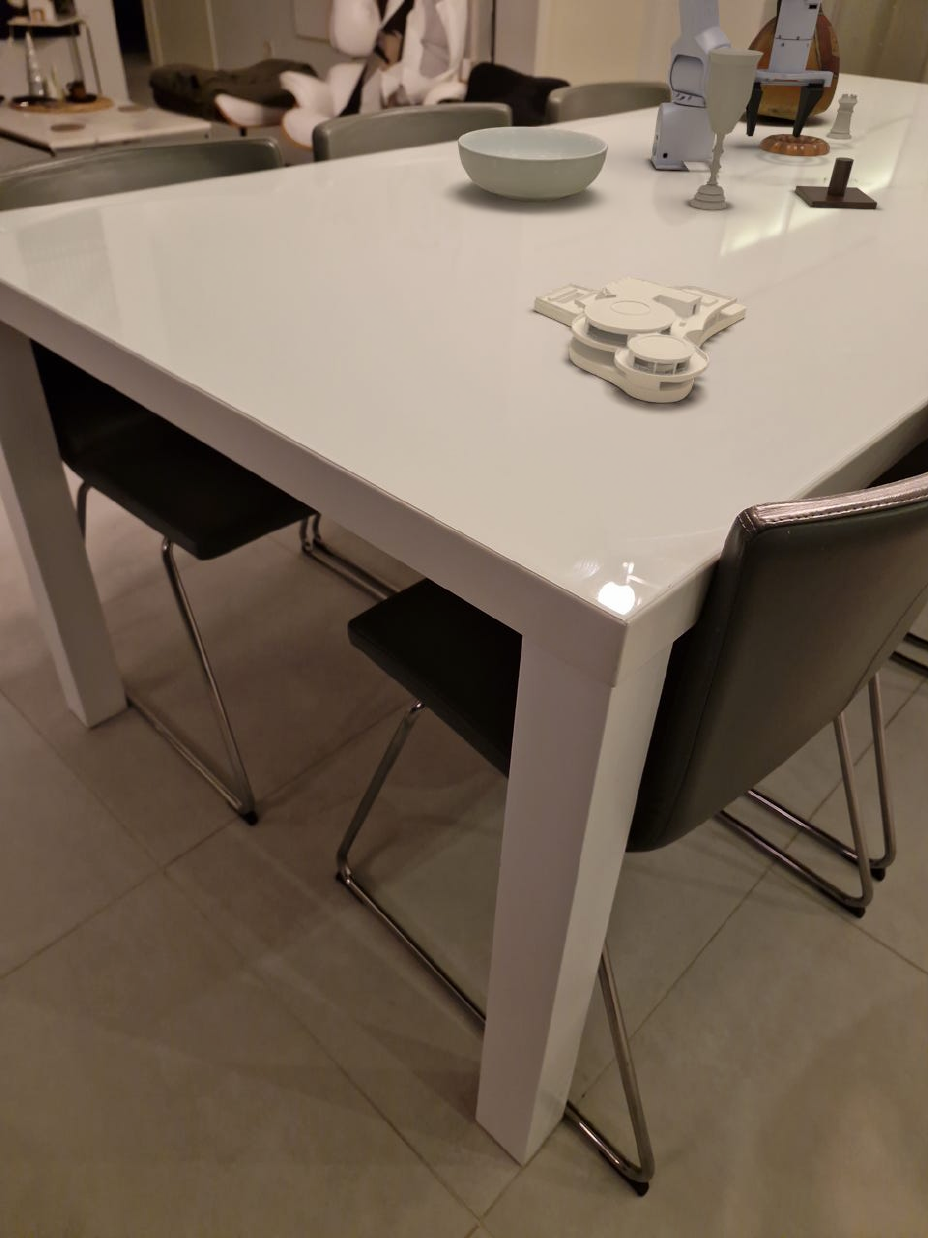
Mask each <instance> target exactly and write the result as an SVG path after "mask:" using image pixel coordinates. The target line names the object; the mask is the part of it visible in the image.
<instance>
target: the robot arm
mask: <svg viewBox="0 0 928 1238" xmlns="http://www.w3.org/2000/svg"><path fill="white" fill-rule="evenodd" d="M823 2H824V0H782V4H781V9H780V14H779V19H778V24H777V29H776V34H775V38H774V43H773V49H772V53H771V58H770V63H769V68H768V69H756V74H755V79H754V84H753V89H752V94H751V98H750V100H749V102H748V104H747V107H746V109H745V113H746V131H745V132H746V133H745V134H746V136H747V137H749V138H750V137H751V138H752V137H754V134H755V129H756V123H757V117H758V114H757V113H758V109H759V105H760V101H761V98H762V95H763V91H762V90H761V88H762V87H760V85H793V86H802V87H801V92H800V100H799V106H798V112H797V116H796V120H794V123H793V127H792V133H791V134H792V136H794V137H795V138H799V137H800V135H802V131H803V130H804V127H805V125H806V123H807V121H808V119H809V118H810V117H809V115H810V113H811V112H812V110H813V109H814V107H815V106H816V104H817V103H818V101H819V100H820V99H821V97H822V96H823V94H824V90H825V89H823V87H830V86H831V81H832V77H833V73H832V72H829V71H810V70H805V69H806V65H807V60H808V56H809V52H810V47H811V43H812V38H813V34H814V29H815V25H816V21H817V16H818V12H819V7H820V3H821V4H822V3H823ZM678 5H679V6H678V9H679V24H680V36H679V37H678V38H677V39H676V40H675V42H674V43H673V44H672V45H671V47H670V64H669V68H668V72H667V83H668V84H667V85H668V87H669V89H670V91H671V92H672V96H671V100H672V102H661V103H660V104H659V106H658V111H657V116H656V122H655V130H654V136H653V143H652V150H651V151H652V152H651V155H650V161H651V162H652V164H653V165H654V167H655V169H656V170H671V171H672V170H674V171H689V170H690V169H689V168H688V167H687V165H686V164H685V162H684V161H688V162H703V161H709V160H711V159H712V156H713V152H712V150H713V149H714V146H715V141H716V139H715V138H716V134H715V133H714V132H712V131H711V127H710V122H709V118H708V113H707V106H706V96H705V94H706V88H707V82H708V77H709V71H710V65H711V58H710V54H709V50H713V49H732V46H731V41H730V40H729V39H728V37H727V35H726V34H725V33H724V31H723V29H722V28H721V26H720V8H719V0H678ZM774 79H784V80H797V81H803V82H795V81H774ZM766 80H768V81H766Z"/></svg>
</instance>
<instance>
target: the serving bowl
mask: <svg viewBox="0 0 928 1238" xmlns="http://www.w3.org/2000/svg"><path fill="white" fill-rule="evenodd" d="M457 146H458V153H459V154H458V155H459V159H460V162H461V165H462V168H463V170H464V172H465V173H466V175H467V176H468V177H469V179H470V180H471V181H472V182H473V183H474V184H475V185H477V186H478V187H480V188H481V189H483V190H485V191H487V192H489V193H492V194H495V195H499V196H501V197H503V198H505V199H508V200H511V201H517V202H524V203H525V202H527V203H542V202H549V201H554V200H558V199H560V198H564V197H569V196H573V195H575V194H578V193H580V192H581V191H583V190H585V189H587V188H588V187H589V186H590V185H592V183H593V182H595V180H596V179H597V178H598V176H599V175H600V173H601V171H602V169H603V167H604V165H605V162H606V159H607V155H608V150H609V145H608V142H606V140H604V139H603V138H601V137H598V136H596V135H592V134H589V133H587V132H581V131H575V130H571V129H564V128H554V127H542V126H541V127H539V126H538V127H537V126H500V127H499V126H498V127H489V128H481V129H476V130H473V131H469V132H466V133H464V134H462V135H461V136H460V137H459V138H458V141H457Z"/></svg>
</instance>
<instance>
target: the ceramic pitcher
mask: <svg viewBox="0 0 928 1238" xmlns="http://www.w3.org/2000/svg"><path fill="white" fill-rule="evenodd" d="M781 4H782V0H777V2H776V15H775V16H774V17H772V18H771V19H770V20H769V21H767V22H766V23H765V24H764V25H763V27H762V28H760V30H759V31H758V32H757V34H756V36H755V37H754V38H753V40H752V41H751V43H750V45H749V47H748V48H747V50H753V51H759V52H762V53H763V55H762V57H761V58H760V60H759V62H758V64H757V69H768V68H769V63H770V58H771V53H772V49H773V43H774V38H775V34H776V29H777V24H778V19H779V14H780V9H781ZM840 53H841V52H840V47H839V41H838V38H837V34H836V32H835V29H834V27H833V25H832V23H831V21H830V20H829V18H827V16H826V15H825V13H824V11H823V6H822V3H820V7H819V12H818V16H817V21H816V25H815V29H814V34H813V38H812V43H811V47H810V52H809V56H808V60H807V65H806V69H805V70H810V71H829V72H832V73H833V77H832V81H831V86H830V87H823V89H825V90H824V94H823V96H822V97H821V99H820V100H819V101H818V103H817V104H816V106H815V107H814V109H813V110H812V112H811V113H810V115H809V117H808V118H810V117H813V116H817V115H819V114H822V113H825V112H826V111H827V110H828V109H829V108H830V106H831V105H832V103H833V100H834V98H835V95H836V91H837V89H838V85H839V80H840V71H841V70H840V69H841V54H840ZM766 81H768V80H766ZM774 81H795V82H803V81H797V80H784V79H774ZM760 87H762V88H761V90H762V91H763V95H762V98H761V101H760V105H759V109H758V113H757V115H760V116H767V117H772V118H779V119H784V120H789V121H795V120H796V116H797V112H798V106H799V100H800V92H801V87H802V86H793V85H760Z"/></svg>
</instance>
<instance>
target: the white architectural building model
mask: <svg viewBox="0 0 928 1238" xmlns="http://www.w3.org/2000/svg"><path fill="white" fill-rule="evenodd" d="M737 301H738V297H736V296H732V295H729V294H725V293H721V292H717V291H713V290H710V289H708V288H704V287H700V286H696V285H691V284H683V285H669V286H668V285H663V284H660V283H656V282H654V281H653V282H652V281H649V280H645V279H641V278H638V277H634V276H627V277H626V278H623V279H620V280H618V281H614V282H611V283H609V284H607V285H604V286H602V287H600V288H597V289H594V288H591V287H588V286H585V285H580V284H576V283H573V282H570V283H568V284H567V283H566V284H565V285H563V286H559V287H557V288H555V289H552V290H550V291H547V292H545V293H543V294H539V295H537V296H535V299H534V301H533V311H535V312H537V313H539V314H541V315H544V316H545V317H548V318H550V319H553V320H555V321H557V322H560V323H561V324H563V325H565V326H568V327H570V328H571V330H570V331H571V334H572V335H573V337H571V338H570V342H569V351H568V356H569V359H570V360H571V362H572V363H573V364H574V365H575V366H577V367H578V368H580V369H582V370H584V371H586V372H588V373H590V374H593V375H595V376H596V377H599V378H601V379H603V380H606V381H607V382H609V383H612V384H613V385H615V386H617V387H618V388H620V389H621V390H622V391H623V392H625V393H626V394H627V395H629V396H630V397H632V398H634V399H637V400H639V401H643V402H649V403H657V404H658V403H659V404H664V403H665V404H667V403H668V404H669V403H675V402H679V401H682V400H683V399H685V398H686V397H688V395H689V394H690V393H691V391H692V389H693V386H694V382H695V378H697V377H699V376H701V375H702V374H703V373H705V372H706V371H707V369H708V368H709V363H710V357H709V355H708V354H707V353H705V351H703V350H702V349H701V347H702V345H703V344H704V343H705V342H706V341H707V340H708V339H709V338H711V337H712V336H714V335H715V334H717V333H719V332H720V331H722V330H724V329H726V328H728V327H730V326H732V325H734V324H735V323H737V322H740V321H741V320H743V319H744V318H745V317H746V313H747V307H748V306H747V305H744V304H740V303H737Z"/></svg>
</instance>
